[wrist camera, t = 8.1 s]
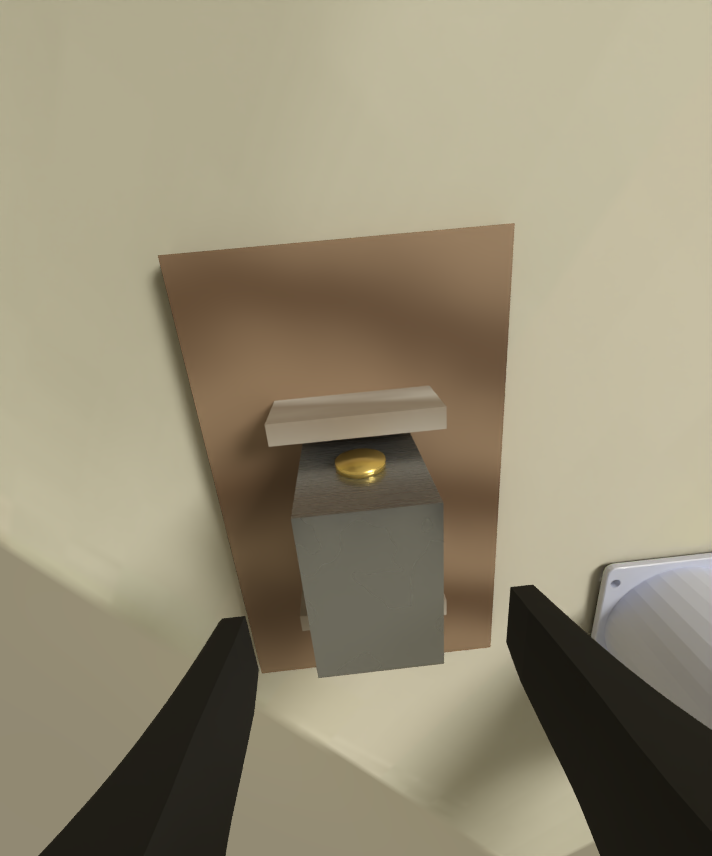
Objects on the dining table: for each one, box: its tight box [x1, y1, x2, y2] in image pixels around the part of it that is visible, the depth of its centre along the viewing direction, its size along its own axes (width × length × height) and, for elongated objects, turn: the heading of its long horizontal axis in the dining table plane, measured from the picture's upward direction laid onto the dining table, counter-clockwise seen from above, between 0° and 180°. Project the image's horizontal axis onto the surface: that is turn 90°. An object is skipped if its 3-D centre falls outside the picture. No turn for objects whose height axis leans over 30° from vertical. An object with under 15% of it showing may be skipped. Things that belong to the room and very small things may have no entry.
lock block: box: [291, 433, 444, 678], centre depth 14 cm, size 6×4×6 cm, turn 5°
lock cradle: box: [158, 223, 515, 673], centre depth 17 cm, size 20×12×4 cm, turn 5°
